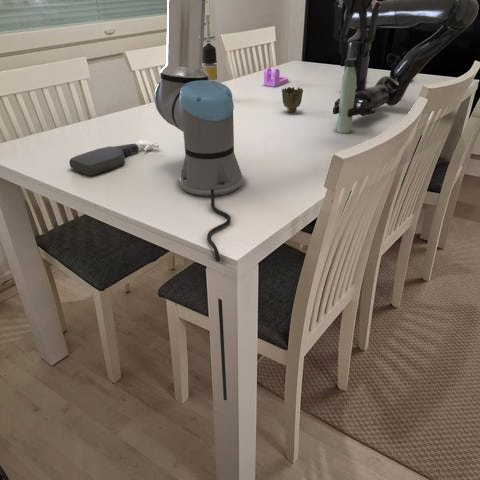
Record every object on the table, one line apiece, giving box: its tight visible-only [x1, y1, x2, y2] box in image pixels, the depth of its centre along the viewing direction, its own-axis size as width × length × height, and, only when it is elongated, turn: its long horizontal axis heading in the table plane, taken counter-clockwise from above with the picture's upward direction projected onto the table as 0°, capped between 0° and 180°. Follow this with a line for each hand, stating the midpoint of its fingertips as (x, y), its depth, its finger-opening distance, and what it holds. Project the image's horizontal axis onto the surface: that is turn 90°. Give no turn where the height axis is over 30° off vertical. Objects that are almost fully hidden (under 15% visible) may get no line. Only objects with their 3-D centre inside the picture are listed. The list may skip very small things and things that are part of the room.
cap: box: [343, 58, 357, 68], centre depth 131 cm, size 4×4×2 cm
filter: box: [202, 14, 218, 82], centre depth 171 cm, size 6×6×30 cm
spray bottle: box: [68, 139, 160, 177], centre depth 124 cm, size 3×11×24 cm
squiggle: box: [385, 51, 409, 82], centre depth 198 cm, size 11×10×15 cm
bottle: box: [336, 67, 357, 134], centre depth 137 cm, size 4×4×21 cm
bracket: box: [263, 67, 289, 88], centre depth 197 cm, size 13×6×7 cm, turn 143°
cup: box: [281, 86, 304, 114], centre depth 159 cm, size 8×7×8 cm
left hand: (350, 66), depth 132 cm, fingers closed on cap, 4 cm apart
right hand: (341, 112), depth 137 cm, fingers closed on bottle, 4 cm apart
